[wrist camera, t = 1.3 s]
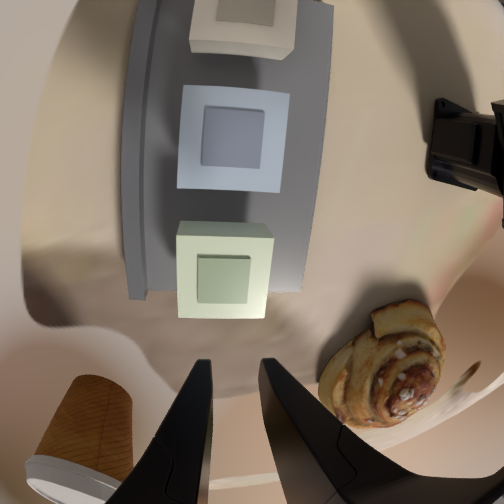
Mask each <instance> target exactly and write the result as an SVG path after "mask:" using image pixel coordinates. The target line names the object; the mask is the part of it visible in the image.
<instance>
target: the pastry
mask: <svg viewBox="0 0 504 504" xmlns="http://www.w3.org/2000/svg"><path fill="white" fill-rule="evenodd" d="M371 318H372V320H373V322H372V323H371V325H370V327H369V328H368V329H366V330H365V331H364V332H363V333H361V334H360V335H358V336H356V337H355V338H353V339H352V340H350V341H349V342H348V343H347V344H346V345H345V346H344V347H343V348H342V349H340V350H339V351H338V352H337V353H336V354H335V355H334V356H333V357H332V358H331V359H330V360H329V362H328V363H327V365H326V367H325V368H324V370H323V372H322V374H321V377H320V380H319V387H318V395H319V399H320V401H321V403H322V404H323V405H324V406H325V407H326V408H327V409H328V410H329V411H330V412H331V413H332V414H333V415H334V416H336V417H337V418H338V419H339V420H340V421H341V422H342V423H343V424H344V423H346V424H348V425H349V426H352V427H355V428H359V429H365V428H375V427H377V428H383V427H384V428H387V427H392V426H394V425H397V424H399V423H401V422H402V421H404V420H406V419H407V418H408V417H410V416H411V415H413V414H414V413H415V412H416V411H417V410H418V409H419V408H422V406H424V405H425V404H426V403H427V402H428V400H429V399H430V396H431V394H432V393H433V392H435V388H436V386H437V384H438V382H439V380H440V377H441V371H442V367H443V362H444V357H445V351H446V349H445V347H446V345H445V343H444V339H443V337H442V335H441V333H440V331H439V329H438V328H437V326H436V323H435V321H434V319H433V317H432V314H431V312H430V310H429V309H428V308H427V307H426V306H425V305H424V304H423V303H421V302H419V301H416V300H407V299H406V300H404V301H401V302H395V303H391V304H388V305H386V306H384V307H380V308H377V309H375V310H374V311H373V312H372V314H371Z"/></svg>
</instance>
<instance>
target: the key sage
mask: <svg viewBox="0 0 504 504" xmlns="http://www.w3.org/2000/svg"><path fill="white" fill-rule="evenodd" d="M273 245H274V237H273V235H272V234H271V232H270V230H269V229H268V227H267V225H266V224H262V223H239V222H210V221H180V224H179V227H178V231H177V235H176V260H177V296H178V317H179V318H264V315H265V308H266V300H267V293H268V285H269V277H270V269H271V261H272V253H273Z"/></svg>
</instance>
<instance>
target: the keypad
mask: <svg viewBox="0 0 504 504" xmlns="http://www.w3.org/2000/svg"><path fill="white" fill-rule="evenodd" d="M194 3H195V0H139V4H138V8H137V13H136V18H135V23H134V29H133V34H132V40H131V47H130V53H129V60H128V68H127V77H126V86H125V96H124V109H123V124H122V148H121V200H122V225H123V241H124V254H125V265H126V275H127V284H128V292H129V299H132V300H145V299H146V295H147V292H148V290H158V291H177V260H176V235H177V231H178V227H179V224H180V221H210V222H239V223H262V224H266V225H267V227H268V229H269V230H270V232H271V234H272V235H273V237H274V245H273V253H272V261H271V269H270V277H269V285H268V292H301V287H302V281H303V276H304V270H305V265H306V259H307V253H308V247H309V241H310V235H311V229H312V222H313V216H314V209H315V202H316V195H317V188H318V181H319V173H320V166H321V158H322V149H323V141H324V132H325V123H326V113H327V103H328V92H329V80H330V67H331V52H332V36H333V14H334V6H333V5H329V4H326V3H322V2H318V1H314V0H298V4H297V17H296V30H295V43H294V50H293V51H292V52H291V53H290V54H288V55H287V56H286V57H285V58H284V59H283V60H276V59H269V58H261V57H252V56H243V55H231V54H216V53H192V52H191V48H190V43H189V35H190V28H191V22H192V15H193V9H194ZM183 85H201V86H222V87H236V88H247V89H257V90H266V91H274V92H281V93H288V94H290V99H289V109H288V119H287V129H286V139H285V149H284V158H283V167H282V177H281V186H280V193H271V192H255V191H238V190H216V189H185V188H177V171H178V150H179V133H180V119H181V107H182V95H183Z"/></svg>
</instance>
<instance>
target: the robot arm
mask: <svg viewBox="0 0 504 504" xmlns="http://www.w3.org/2000/svg"><path fill="white" fill-rule="evenodd" d="M441 103H442V106H441ZM491 105H492V110H493V111H494V114H495V116H494V115H485V114H475V113H472V112H470V111H468V110H466V109H464V108H462V107H460V106H458V105H456V104H454V103H452V102H450V101H448V100H446V99H444V98H437V99H436V102H435V115H434V126H433V135H432V144H431V151H430V159H429V165H428V172H427V174H428V177H429V178H430V179H432V180H436V181H440V182H444V183H447V184H451V185H455V186H459V187H462V188H466V189H470V190H473V191H476V190H477V189H481V190H484V191H486V192H489V193H491V194H494V195H497V196H499V197H502V198H503V219H502V227H503V228H504V100H500V101H495V102H491ZM433 172H434V175H433ZM258 383H259V390H260V398H261V406H262V414H263V420H264V425H265V428H266V433H267V436H268V439H269V443H270V447H271V450H272V454H273V457H274V461H275V464H276V468H277V471H278V474H279V478H280V481H281V484H282V488H283V491H284V494H285V498H286V501H287V504H504V467H502V468H501V469H500V470H498V471H497V472H496V473H495V474H493V475H491V476H488V477H484V478H441V477H429V476H422V475H418V474H415V473H412V472H410V471H408V470H406V469H405V468H402V467H401V466H400V465H398V464H397V463H395V462H393V461H392V460H390V459H389V458H387V457H386V456H384V455H383V454H381V453H380V452H378V451H377V450H375V449H374V448H373V447H371V446H370V445H368V444H367V443H366V442H364V441H363V440H362V439H361V438H359V437H358V436H357V435H356V434H355V433H353V432H352V431H351V430H350V429H349V428H348V427H347V426H346V425H343V423H342V422H341V421H340V420H339V419H338V418H337V417H336V416H334V415H333V414H332V413H331V412H330V411H329V410H328V409H327V408H326V407H325V406H324V405H323V404H322V403H320V402H319V401H318V400H317V399H316V398H315V397H314V396H313V395H312V394H311V393H310V392H309V391H308V390H307V389H306V388H305V387H304V386H303V385H302V384H301V383H300V382H299V381H298V380H296V379H295V378H294V377H293V376H292V375H291V374H290V373H289V372H288V371H287V370H286V369H285V368H284V367H283V366H282V365H281V364H280V363H279V362H278V361H277V360H276V359H275V358H263V359H261V362H260V369H259V375H258ZM212 433H213V381H212V366H211V360H210V359H198V360H197V361H196V363H195V364H194V366H193V368H192V370H191V372H190V373H189V375H188V377H187V379H186V381H185V382H184V384H183V386H182V388H181V389H180V391H179V393H178V395H177V397H176V398H175V400H174V402H173V404H172V406H171V407H170V409H169V411H168V413H167V415H166V416H165V418H164V420H163V421H162V423H161V425H160V427H159V429H158V430H157V432H156V434H155V437H153V439H152V441H151V442H150V444H149V446H148V448H147V449H146V451H145V452H144V454H143V456H142V457H141V459H140V460H139V462H138V463H137V464H136V466H135V467H134V468H133V470H132V471H131V472H130V473H129V475H128V476H127V477H126V478H125V480H124V481H123V482H122V483H121V485H120V486H119V487H118V488H117V489H116V491H115V492H114V493H113V494H112V495H111V497H110V498H109V499H108V500H107V501H106V502H105V503H104V504H208V489H209V474H210V460H211V447H212Z"/></svg>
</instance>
